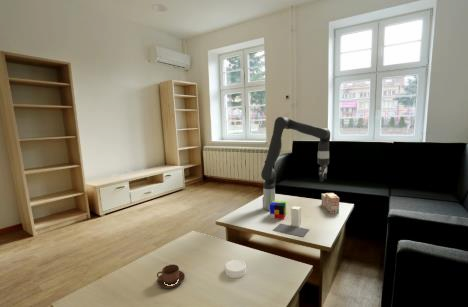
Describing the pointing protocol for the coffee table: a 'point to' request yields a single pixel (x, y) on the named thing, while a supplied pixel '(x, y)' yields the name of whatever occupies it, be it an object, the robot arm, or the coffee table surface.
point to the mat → (291, 230)
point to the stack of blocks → (330, 202)
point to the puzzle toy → (278, 209)
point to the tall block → (295, 216)
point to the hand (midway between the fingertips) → (322, 180)
